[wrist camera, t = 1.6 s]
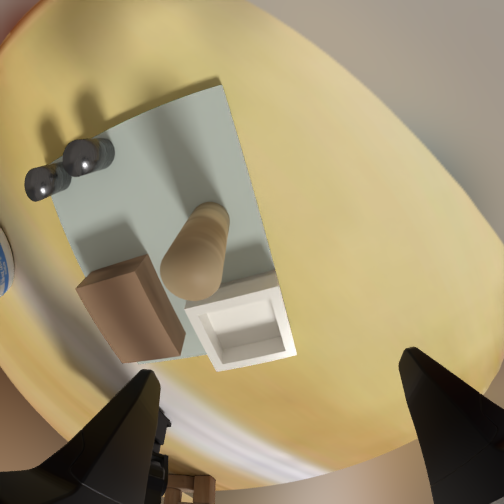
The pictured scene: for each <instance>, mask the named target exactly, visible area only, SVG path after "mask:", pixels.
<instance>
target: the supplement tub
mask: <svg viewBox="0 0 504 504" xmlns="http://www.w3.org/2000/svg"><path fill="white" fill-rule="evenodd" d="M13 279H14V262H13V256H12V252H11V249H10V246H9V243H8V241H7V238H6V236H5V234H4V232H3V231H2V229H1V228H0V297H1V296H2V295H3V294H4V293H5V292H6V291H8V289H9V288H10V287H11V285H12V283H13Z"/></svg>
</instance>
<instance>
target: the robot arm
mask: <svg viewBox="0 0 504 504" xmlns="http://www.w3.org/2000/svg"><path fill="white" fill-rule="evenodd" d="M399 372H400V376H401V380H402V384H403V389H404V393H405V397H406V401H407V405H408V408H409V411H410V414H411V417H412V420H413V423H414V426H415V430H416V433H417V436H418V440H419V443H420V446H421V450H422V454H423V458H424V461H425V465H426V469H427V473H428V477H429V481H430V485H431V491H432V496H433V501H434V504H504V409H502V408H501V407H499V406H498V405H496V404H495V403H493V402H492V401H490V400H489V399H487V398H486V397H484V396H483V395H482V394H480V393H479V392H478V391H476V390H475V389H474V388H472V387H471V386H470V385H468V384H467V383H465V382H464V381H463V380H461V379H460V378H459V377H457V376H456V375H454V374H453V373H452V372H450V371H449V370H447V369H446V368H445V367H443V366H442V365H440V364H439V363H438V362H436V361H435V360H433V359H432V358H431V357H429V356H428V355H426V354H425V353H424V352H422V351H421V350H419V349H418V348H416V347H410V348H406V349H405V350H404V352H403V354H402V357H401V359H400V361H399ZM160 389H161V388H160V383H159V381H158V379H157V377H156V375H155V373H154V371H152V370H147V369H142V370H140V371H139V372H138V373H137V374H136V375H135V376H134V377H133V378H132V379H131V380H130V381H129V382H128V383H127V384H126V385H125V386H124V387H123V388H122V389H121V390H120V391H119V392H118V393H117V394H116V396H115V397H114V398H113V399H112V400H111V401H110V402H109V403H108V404H107V405H106V406H105V407H104V408H103V409H102V410H101V411H100V412H99V413H98V414H97V415H96V416H95V417H94V418H93V419H92V420H91V421H90V422H89V423H88V424H87V425H86V426H85V427H84V428H83V429H82V430H80V431H79V432H78V433H77V434H76V435H75V436H74V437H73V438H72V439H71V440H70V441H69V442H68V443H67V444H66V445H64V446H63V447H62V448H61V449H60V450H58V451H57V452H56V453H54V454H53V455H52V456H51V457H49V458H48V459H47V460H45V461H44V462H43V463H42V464H40V465H39V466H37V467H35V468H32V469H29V470H22V471H9V472H0V504H161V497H162V496H163V495H164V493H165V491H166V489H167V485H168V456H167V455H162V454H159V451H160V446H161V445H163V444H164V439H165V434H166V428H167V427H171V423H170V422H169V420H168V419H167V418H166V417H165V416H164V415H163V414H162V413H161V412H160V411H159V400H160Z"/></svg>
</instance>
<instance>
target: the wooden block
mask: <svg viewBox="0 0 504 504" xmlns="http://www.w3.org/2000/svg"><path fill="white" fill-rule="evenodd" d="M215 482H216V480H215V479H214V478H212V477H211V476H209V475H196V476H195V477H191V476H187V475H171V474H168V485H167V489H166V491H165V497H164V504H215ZM182 492H193V503H187V502H181V498H182Z"/></svg>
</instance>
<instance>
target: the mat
mask: <svg viewBox="0 0 504 504" xmlns="http://www.w3.org/2000/svg"><path fill="white" fill-rule="evenodd" d="M94 138H106V139H108V140H110V141H111V142H112V144H113V146H114V149H115V157H114V160H113V162H112V164H111V165H110V166H109V167H108V168H106V169H103V170H99V171H96V172H93V173H89V174H86V175H83V176H80V177H72V179H71V183H70V185H69V187H68V188H67V189H66V190H64V191H61V192H59V193H56V194H54V195H51V197H52V200H53V203H54V206H55V209H56V211H57V214H58V217H59V219H60V222H61V224H62V227H63V229H64V232H65V234H66V237H67V239H68V241H69V243H70V246H71V248H72V250H73V252H74V255H75V257H76V259H77V261H78V263H79V265H80V267H81V269H82V271H83V273H84V275H85V277H87V276H88V275H89V274H90V273H91V272H92V271H95V270H98V269H101V268H104V267H107V266H110V265H113V264H116V263H119V262H123V261H126V260H129V259H132V258H135V257H138V256H142V255H145V254H148V255H149V257H150V259H151V262H152V264H153V266H154V268H155V271H156V273H157V275H158V277H159V279H160V282H161V284H162V286H163V288H164V290H165V292H166V294H167V296H168V298H169V300H170V302H171V305H172V307H173V309H174V311H175V313H176V314H177V316H178V318H179V320H180V322H181V324H182V326H183V328H184V330H185V332H186V335H185V339H184V343H183V347H182V352H181V356H178V357H171V358H164V359H156V360H149V361H140V362H137V363H138V364H144V363H153V362H161V361H168V360H175V359H182V358H188V357H194V356H200V355H206V354H207V353H206V351H205V349H204V348H203V346H202V344H201V342H200V340H199V338H198V336H197V334H196V332H195V330H194V328H193V326H192V324H191V322H190V320H189V318H188V316H187V314H186V312H185V310H184V307H185V304H186V301H187V300H184V299H181V298H179V297H177V296H175V295H174V294H172V293H171V292H170V291H169V290H168V289H167V288H166V287H165V285H164V283H163V281H162V279H161V275H160V265H161V261H162V259H163V257H164V255H165V254H166V252H167V251H168V249H169V247H170V246H171V244H172V243H173V241H174V240H175V238H176V236H177V235H178V233H179V232H180V230H181V229H182V227H183V226H184V224H185V223H186V221H187V220H188V218H189V217H190V215H191V214H192V212H193V211H194V209H195V208H196V207H197V206H198V205H200V204H202V203H205V202H215V203H218V204H220V205H222V206H223V207H224V208H225V209H226V211H227V212H228V214H229V217H230V225H229V232H228V238H227V245H226V252H225V259H224V266H223V273H222V280H221V283H225V282H229V281H233V280H237V279H240V278H244V277H248V276H252V275H256V274H260V273H263V272H267V271H271V270H275V267H274V263H273V260H272V256H271V252H270V249H269V245H268V241H267V238H266V234H265V230H264V227H263V223H262V219H261V216H260V212H259V209H258V205H257V202H256V198H255V195H254V191H253V187H252V184H251V180H250V177H249V173H248V170H247V167H246V163H245V160H244V156H243V153H242V149H241V146H240V142H239V139H238V136H237V132H236V129H235V126H234V122H233V119H232V116H231V112H230V109H229V106H228V102H227V99H226V96H225V92H224V89H223V86H222V85H219V86H215V87H212V88H209V89H206V90H202V91H199V92H196V93H193V94H190V95H188V96H185V97H182V98H179V99H176V100H174V101H171V102H168V103H166V104H163V105H161V106H158V107H156V108H154V109H151V110H149V111H146V112H144V113H142V114H140V115H137V116H135V117H133V118H131V119H129V120H126V121H124V122H122V123H120V124H118V125H116V126H114V127H112V128H110V129H108V130H106V131H104V132H102V133H101V134H99V135H97V136H95V137H93V138H91V139H94ZM57 162H63V156H61V157H60V158H58V159H57V160H55V161H53V162H52V163H50V164H53V163H57ZM277 279H278V278H277ZM281 294H282V293H281ZM282 298H283V297H282ZM287 317H288V316H287ZM288 321H289V320H288ZM289 325H290V324H289Z"/></svg>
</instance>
